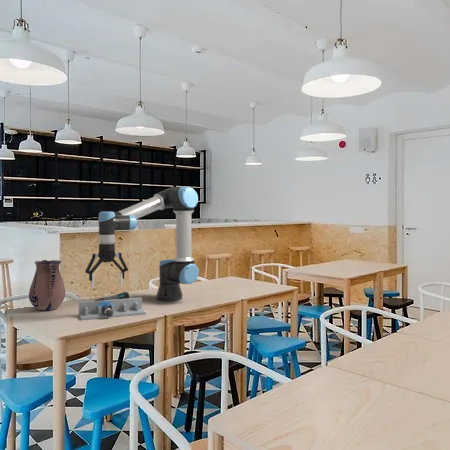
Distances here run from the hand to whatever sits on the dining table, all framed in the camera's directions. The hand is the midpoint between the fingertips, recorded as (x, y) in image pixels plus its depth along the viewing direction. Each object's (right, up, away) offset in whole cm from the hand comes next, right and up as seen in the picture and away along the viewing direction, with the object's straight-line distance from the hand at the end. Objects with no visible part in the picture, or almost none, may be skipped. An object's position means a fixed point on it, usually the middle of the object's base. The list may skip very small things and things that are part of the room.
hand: (107, 286), depth 218 cm
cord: (0, -13, -1) cm, 13 cm away
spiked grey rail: (+2, -14, +2) cm, 15 cm away
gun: (-3, -14, +21) cm, 26 cm away
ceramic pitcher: (-33, -14, +12) cm, 38 cm away
